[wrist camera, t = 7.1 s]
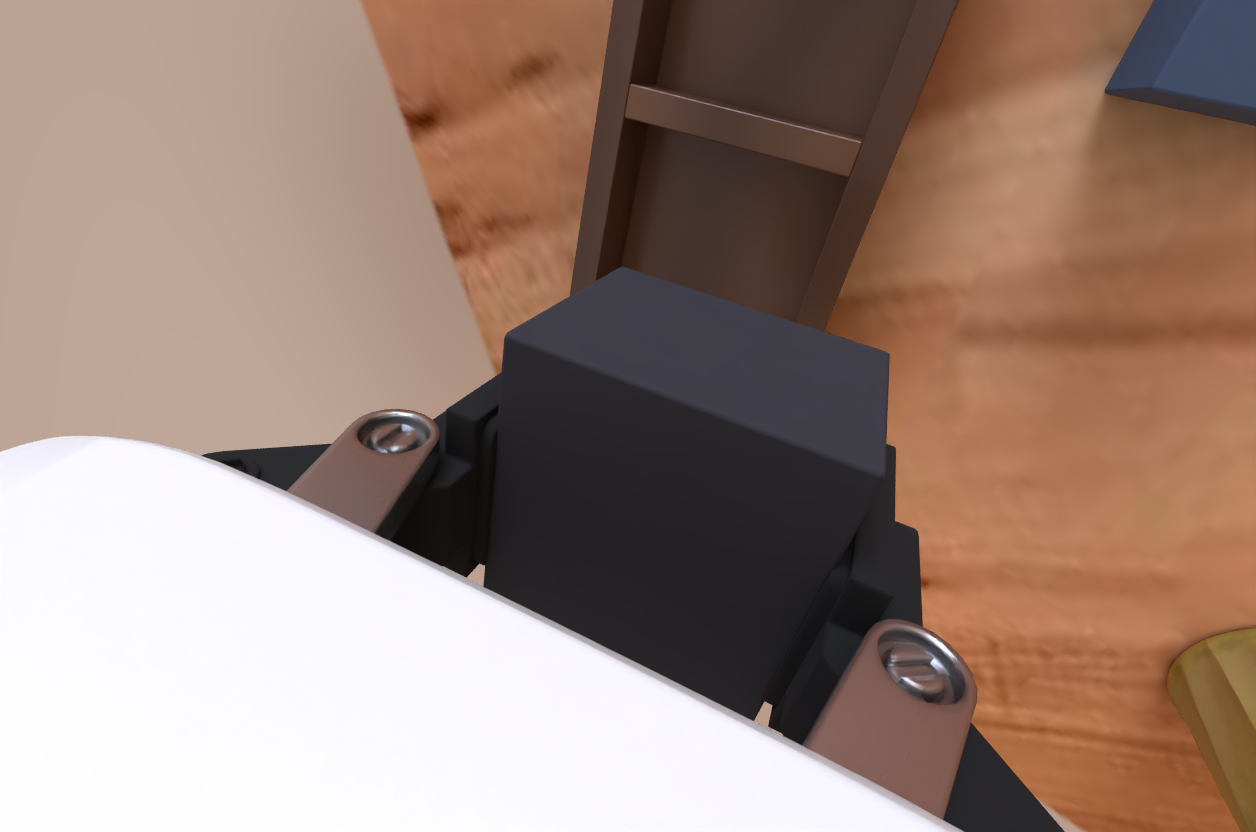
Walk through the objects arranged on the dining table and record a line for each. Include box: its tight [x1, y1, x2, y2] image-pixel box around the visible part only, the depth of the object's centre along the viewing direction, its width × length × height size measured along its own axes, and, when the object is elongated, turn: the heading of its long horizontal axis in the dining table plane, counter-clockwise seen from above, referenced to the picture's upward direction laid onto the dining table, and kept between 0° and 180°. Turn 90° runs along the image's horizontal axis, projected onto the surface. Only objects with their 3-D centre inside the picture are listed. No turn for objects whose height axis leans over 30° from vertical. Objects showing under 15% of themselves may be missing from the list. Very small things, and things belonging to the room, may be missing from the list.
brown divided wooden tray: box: [570, 0, 959, 332], centre depth 19 cm, size 10×18×3 cm, turn 166°
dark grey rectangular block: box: [483, 267, 890, 721], centre depth 10 cm, size 5×6×4 cm
